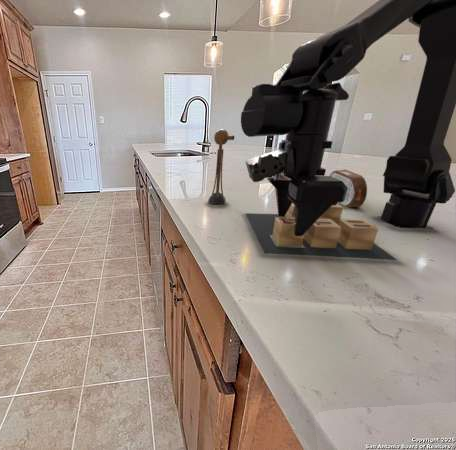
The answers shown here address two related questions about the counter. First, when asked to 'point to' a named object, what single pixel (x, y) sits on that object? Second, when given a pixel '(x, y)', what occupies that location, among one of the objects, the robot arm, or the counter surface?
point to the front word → (341, 234)
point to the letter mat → (264, 231)
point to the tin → (352, 187)
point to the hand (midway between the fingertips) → (289, 224)
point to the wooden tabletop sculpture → (219, 167)
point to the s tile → (286, 232)
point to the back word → (331, 213)
